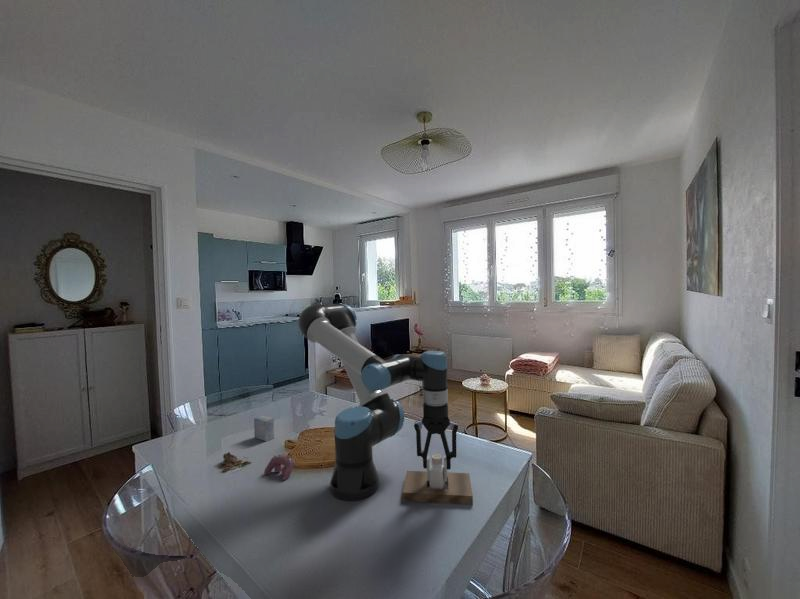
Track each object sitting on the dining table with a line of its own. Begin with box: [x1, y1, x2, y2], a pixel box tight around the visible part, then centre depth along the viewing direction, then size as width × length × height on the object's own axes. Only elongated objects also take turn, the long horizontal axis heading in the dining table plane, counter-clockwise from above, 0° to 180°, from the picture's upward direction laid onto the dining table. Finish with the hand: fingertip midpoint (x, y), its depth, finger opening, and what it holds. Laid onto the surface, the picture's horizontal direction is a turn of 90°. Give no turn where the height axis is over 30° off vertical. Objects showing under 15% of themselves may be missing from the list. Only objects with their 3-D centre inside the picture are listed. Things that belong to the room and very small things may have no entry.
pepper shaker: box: [429, 453, 446, 489], centre depth 99 cm, size 4×4×10 cm
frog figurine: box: [218, 452, 253, 473], centre depth 118 cm, size 12×12×4 cm
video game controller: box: [263, 454, 296, 481], centre depth 111 cm, size 10×5×7 cm, turn 66°
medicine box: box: [253, 415, 275, 442], centre depth 141 cm, size 8×4×9 cm, turn 58°
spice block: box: [402, 470, 474, 506], centre depth 99 cm, size 20×12×2 cm, turn 83°
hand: (437, 478), depth 99 cm, fingers closed on pepper shaker, 4 cm apart
